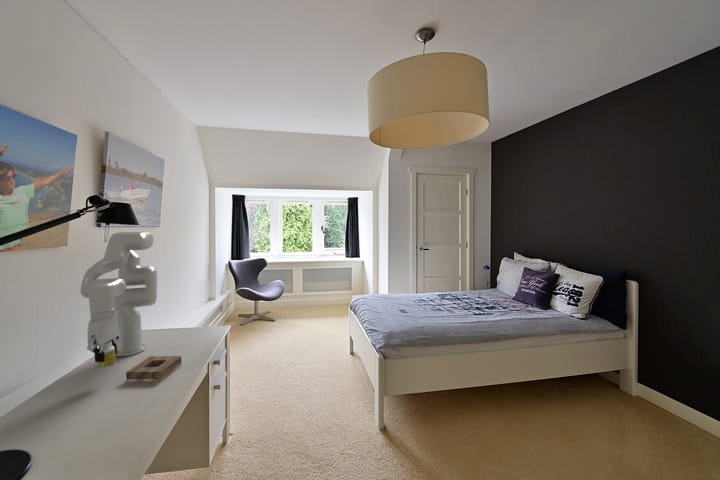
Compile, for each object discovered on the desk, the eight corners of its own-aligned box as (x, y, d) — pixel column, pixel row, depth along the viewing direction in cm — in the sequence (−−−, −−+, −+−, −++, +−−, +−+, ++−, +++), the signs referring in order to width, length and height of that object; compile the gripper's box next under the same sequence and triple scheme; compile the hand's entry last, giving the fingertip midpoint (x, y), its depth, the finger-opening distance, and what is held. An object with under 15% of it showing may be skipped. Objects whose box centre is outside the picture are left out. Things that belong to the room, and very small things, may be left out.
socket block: (126, 381, 120) (126, 372, 120) (150, 365, 134) (149, 356, 134) (161, 381, 120) (161, 371, 120) (181, 364, 134) (181, 356, 134)
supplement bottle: (105, 370, 116) (103, 346, 116) (94, 368, 118) (92, 344, 117) (119, 363, 122) (117, 340, 121) (108, 361, 123) (106, 339, 122)
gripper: (111, 307, 126) (114, 347, 128) (73, 322, 109) (77, 369, 111) (129, 307, 126) (131, 347, 128) (93, 322, 109) (97, 369, 111)
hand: (106, 357), depth 119 cm, fingers closed on supplement bottle, 5 cm apart
